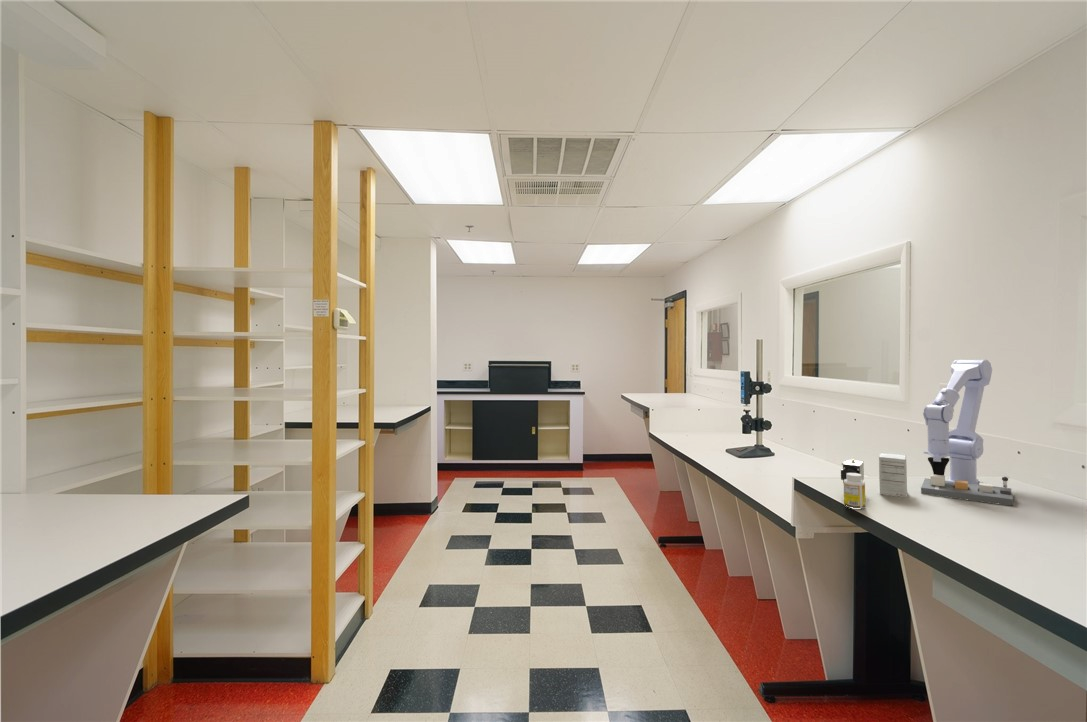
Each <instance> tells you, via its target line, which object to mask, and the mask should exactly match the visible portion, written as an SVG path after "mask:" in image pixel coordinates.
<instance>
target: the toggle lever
mask: <svg viewBox="0 0 1087 722" xmlns="http://www.w3.org/2000/svg"><path fill="white" fill-rule="evenodd" d="M1001 480H1002V482H1003V483H1002V484H1003V485H1002V487H1003V488H1008V481H1009V477H1007V476H1002V477H1001Z"/></svg>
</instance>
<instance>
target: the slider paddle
mask: <svg viewBox="0 0 1087 722" xmlns="http://www.w3.org/2000/svg"><path fill="white" fill-rule="evenodd" d="M929 479H931V485H936V486H945V481H946V475H945V474H944V475H935V474H933V473H931V474H930V478H929Z"/></svg>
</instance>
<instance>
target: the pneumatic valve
mask: <svg viewBox="0 0 1087 722" xmlns="http://www.w3.org/2000/svg"><path fill="white" fill-rule="evenodd" d="M841 465H842V468H841V469H840V480H841V481H842V484H844V480H845V479H846V478H847V477H846V474H847V473H858V474H861V475H862V481H864V480H865V473H864V472H865V468H864V466H865V465H864V461H863V460H857V459H856V460H855V459H854V458H852V459H846V461H842V462H841Z"/></svg>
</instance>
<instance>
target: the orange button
mask: <svg viewBox="0 0 1087 722" xmlns="http://www.w3.org/2000/svg"><path fill="white" fill-rule="evenodd" d="M955 488H956V489H964V490H968V481H959V480H955Z"/></svg>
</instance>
